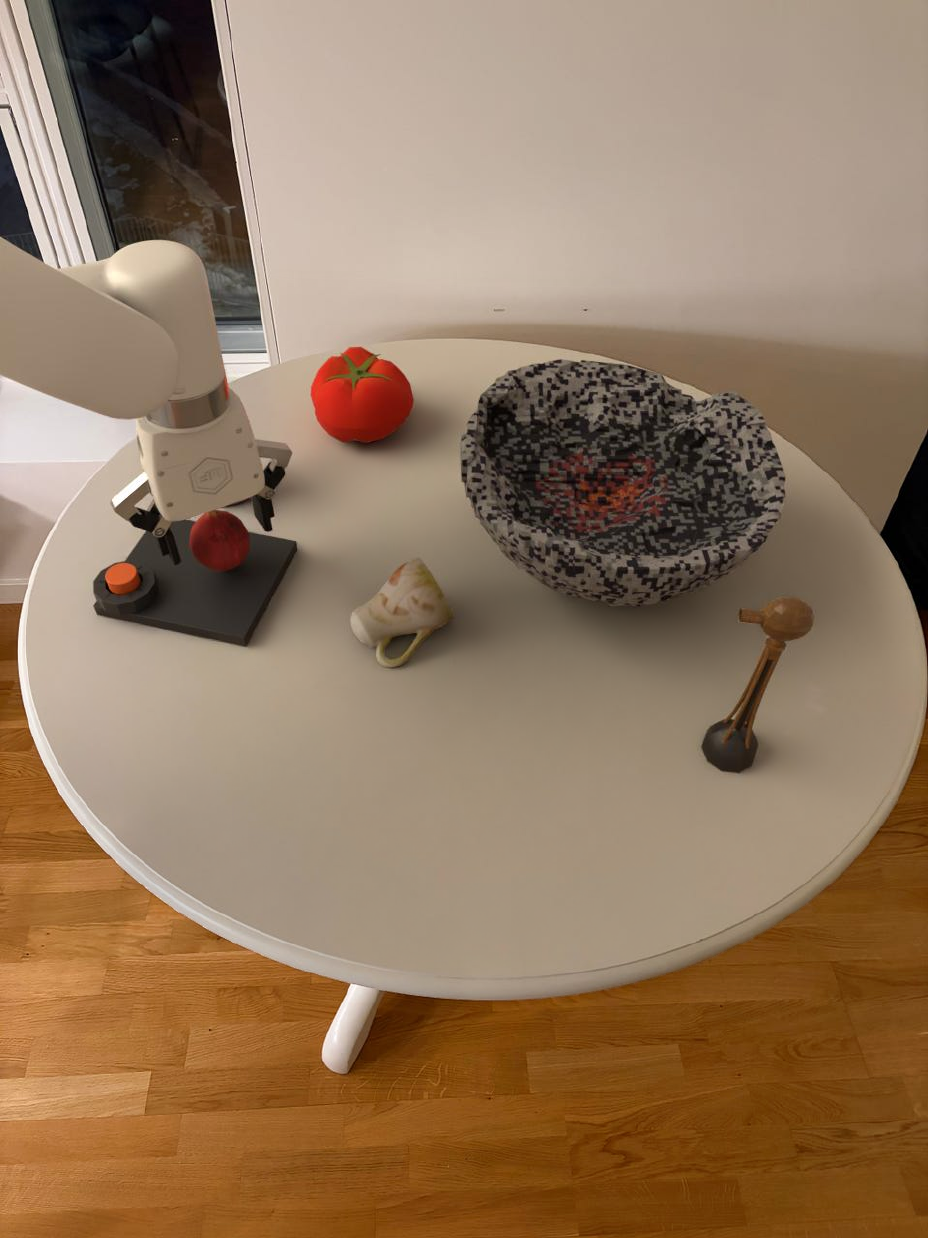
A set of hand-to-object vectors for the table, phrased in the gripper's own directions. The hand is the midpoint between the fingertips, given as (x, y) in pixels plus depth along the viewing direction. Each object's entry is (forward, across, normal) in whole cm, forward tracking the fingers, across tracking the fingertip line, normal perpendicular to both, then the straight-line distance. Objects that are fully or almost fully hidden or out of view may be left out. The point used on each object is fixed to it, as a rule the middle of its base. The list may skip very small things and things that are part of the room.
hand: (219, 539), depth 90 cm
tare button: (+3, -10, +2) cm, 10 cm away
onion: (+4, 0, 0) cm, 4 cm away
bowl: (+5, +36, -17) cm, 40 cm away
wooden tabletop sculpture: (+5, +30, -42) cm, 53 cm away
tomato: (+5, +24, +16) cm, 30 cm away
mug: (+6, +12, -16) cm, 20 cm away
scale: (+5, -3, +1) cm, 6 cm away
